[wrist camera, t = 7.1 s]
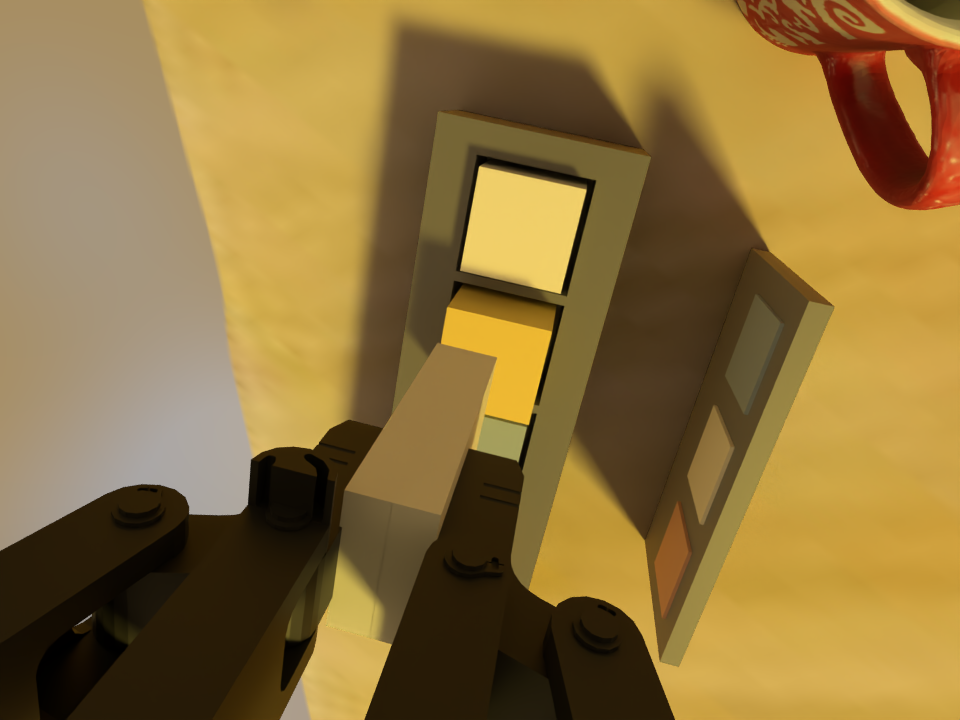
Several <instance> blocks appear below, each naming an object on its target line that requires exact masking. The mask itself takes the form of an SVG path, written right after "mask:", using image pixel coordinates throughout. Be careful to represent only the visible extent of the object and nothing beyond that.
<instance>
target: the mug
mask: <svg viewBox="0 0 960 720" xmlns="http://www.w3.org/2000/svg"><path fill="white" fill-rule="evenodd" d="M737 2H738V5H739V7H740V8H741V10H742V13H743V15H744V16H745V18H746V19H747V21H748V22H749V23H750V25H751V26H752V27H753V29H754V30H755V31H756V32H757V33H759V34H760V35H761V36H762V37H763V38H765V39H766V40H768V41H769V42H771V43H772V44H774V45H776V46H778V47H780V48H782V49H784V50H787V51H790V52H794V53H799V54H804V55H815V56H817V58H818V60H819V61H820V63H821V65H822V69H823V72H824V75H825V78H826V81H827V85H828V89H829V93H830V97H831V100H832V103H833V106H834V109H835V112H836V115H837V118H838V121H839V123H840V126H841V129H842V131H843V134H844V136H845V139H846V141H847V144H848V146H849V148H850V150H851V153H852V155H853V157H854V159H855V161H856V164H857V166H858V168H859V170H860V171H861V173H862V175H863V176H864V178H865V179H866V181H867V182H868V183H869V185H870V186H871V187H872V189H873V190H874V191H875V192H876V193H877V194H878V195H879V196H880V197H881V198H883V199H884V200H885V201H887V202H888V203H890V204H892V205H894V206H897V207H900V208H904V209H909V210H929V209H937V208H943V207H948V206H954V205H959V204H960V0H737ZM891 50H905V53H906V56H907V57H908V58H909V59H910V60H911V61H912V62H913V63H914V64H915V65H916V66H917V67H918V68H919V69H920V70H921V72H922V73H923V76H924V79H925V82H926V86H927V91H928V96H929V101H930V106H931V117H932V136H931V151H930V156H929V158H928V157H927V155H926V154H925V152H924V151H923V149H922V147H921V146H920V144H919V143H918V141H917V139H916V137H915V135H914V133H913V131H912V130H911V128H910V126H909V124H908V122H907V121H906V119H905V116H904V114H903V112H902V110H901V108H900V105H899V104H898V102H897V100H896V98H895V95H894V92H893V90H892V87H891V85H890V81H889V78H888V74H887V71H886V65H885V53H886V51H891Z"/></svg>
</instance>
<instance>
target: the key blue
mask: <svg viewBox="0 0 960 720" xmlns="http://www.w3.org/2000/svg"><path fill="white" fill-rule="evenodd" d="M526 429H527V424H523V423H518V422H514V421H510V420H506V419H502V418H498V417H494V416H490V415H486V414H485V415H484V419H483V424H482V428H481V433H480V437H479V441H478V446H477V451H481V452H485V453H489V454H493V455H497V456H501V457H505V458H509V459H513V460H517V462H518V461H519V457H520V453H521V449H522V445H523V441H524V437H525V433H526Z"/></svg>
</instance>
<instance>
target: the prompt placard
mask: <svg viewBox="0 0 960 720" xmlns="http://www.w3.org/2000/svg"><path fill="white" fill-rule="evenodd" d="M833 309H834V306H833V305H832V304H831V303H830V302H828V301H827V300H826V299H825V298H824V297H822V296H821V295H820V294H819V293H818V292H817V291H815V290H814V289H813V288H812V287H811V286H810V285H808V284H807V283H806V282H805V281H804V280H803V279H801V278H800V277H799V276H798V275H797V274H795V273H794V272H793V271H792V270H791V269H790V268H788V267H787V266H786V265H785V264H784V263H783V262H781V261H780V260H779V259H778V258H777V257H775V256H774V255H773V254H772V253H771V252H768V251H763V250H759V249H754V248H752V249H751V251H750V254H749V257H748V260H747V262H746V265H745V268H744V271H743V273H742V276H741V279H740V282H739V284H738V287H737V290H736V293H735V295H734V298H733V301H732V303H731V306H730V309H729V312H728V314H727V317H726V320H725V323H724V325H723V328H722V331H721V334H720V336H719V339H718V342H717V345H716V347H715V350H714V353H713V356H712V358H711V361H710V364H709V367H708V369H707V372H706V375H705V378H704V380H703V383H702V386H701V389H700V391H699V394H698V397H697V400H696V402H695V405H694V408H693V411H692V413H691V416H690V419H689V422H688V424H687V427H686V430H685V433H684V435H683V438H682V441H681V444H680V446H679V449H678V452H677V455H676V457H675V460H674V463H673V466H672V468H671V471H670V474H669V477H668V479H667V482H666V485H665V488H664V490H663V493H662V496H661V498H660V501H659V504H658V507H657V509H656V512H655V515H654V518H653V520H652V523H651V526H650V529H649V531H648V534H647V537H646V540H645V546H646V554H647V562H648V570H649V578H650V586H651V594H652V603H653V611H654V619H655V627H656V635H657V643H658V651H659V659H660V662H662V663H666V664H670V665H673V666H677V667H679V666H680V663H681V661H682V659H683V656H684V654H685V652H686V649H687V647H688V645H689V643H690V640H691V638H692V636H693V633H694V631H695V629H696V626H697V624H698V622H699V619H700V617H701V615H702V612H703V610H704V608H705V606H706V603H707V601H708V599H709V596H710V594H711V592H712V589H713V587H714V585H715V582H716V580H717V578H718V575H719V573H720V571H721V568H722V566H723V564H724V562H725V559H726V557H727V555H728V552H729V550H730V548H731V545H732V543H733V541H734V538H735V536H736V534H737V531H738V529H739V527H740V525H741V522H742V520H743V518H744V515H745V513H746V511H747V508H748V506H749V504H750V501H751V499H752V497H753V494H754V492H755V490H756V488H757V485H758V483H759V481H760V478H761V476H762V474H763V471H764V469H765V467H766V464H767V462H768V460H769V457H770V455H771V453H772V451H773V448H774V446H775V444H776V441H777V439H778V437H779V434H780V432H781V430H782V427H783V425H784V423H785V420H786V418H787V416H788V413H789V411H790V409H791V407H792V404H793V402H794V400H795V397H796V395H797V393H798V390H799V388H800V386H801V383H802V381H803V379H804V376H805V374H806V372H807V370H808V367H809V365H810V363H811V360H812V358H813V356H814V353H815V351H816V349H817V346H818V344H819V342H820V339H821V337H822V335H823V333H824V330H825V328H826V326H827V323H828V321H829V319H830V316H831V314H832V312H833Z"/></svg>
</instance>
